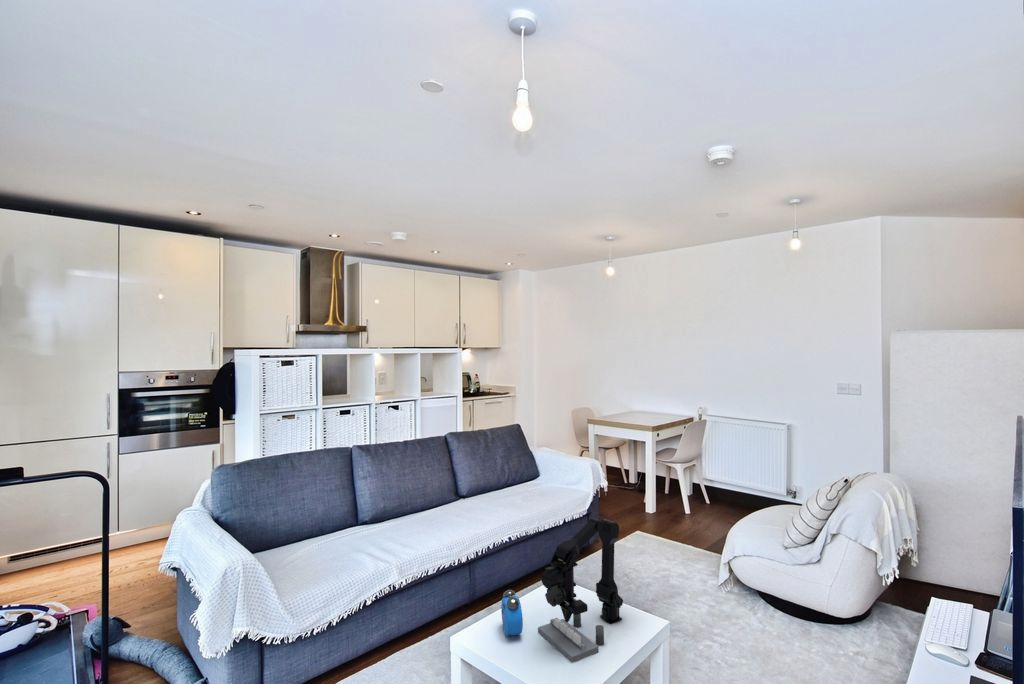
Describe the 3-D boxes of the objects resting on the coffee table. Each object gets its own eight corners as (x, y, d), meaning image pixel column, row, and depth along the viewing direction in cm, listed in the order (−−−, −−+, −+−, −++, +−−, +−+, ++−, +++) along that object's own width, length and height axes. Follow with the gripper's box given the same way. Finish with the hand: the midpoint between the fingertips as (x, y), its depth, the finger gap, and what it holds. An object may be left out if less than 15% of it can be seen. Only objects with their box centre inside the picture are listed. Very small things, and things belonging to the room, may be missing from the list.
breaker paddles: (555, 623, 191) (554, 615, 192) (583, 647, 176) (583, 638, 176) (552, 624, 191) (551, 616, 191) (580, 648, 175) (580, 639, 175)
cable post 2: (600, 640, 184) (600, 624, 184) (605, 644, 182) (605, 627, 182) (594, 642, 183) (593, 626, 183) (599, 646, 180) (599, 630, 180)
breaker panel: (563, 623, 196) (562, 614, 196) (598, 652, 177) (598, 641, 177) (538, 632, 190) (537, 622, 190) (571, 662, 171) (571, 651, 171)
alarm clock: (523, 641, 184) (522, 601, 184) (507, 643, 183) (506, 603, 183) (515, 623, 197) (515, 585, 197) (500, 625, 195) (500, 587, 196)
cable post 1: (577, 622, 196) (577, 607, 196) (582, 626, 194) (582, 611, 194) (571, 624, 195) (571, 609, 195) (576, 628, 192) (576, 613, 192)
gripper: (535, 575, 188) (535, 616, 188) (563, 595, 172) (563, 640, 171) (558, 568, 194) (559, 608, 193) (588, 587, 177) (588, 631, 177)
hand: (566, 621), depth 183 cm, fingers closed
